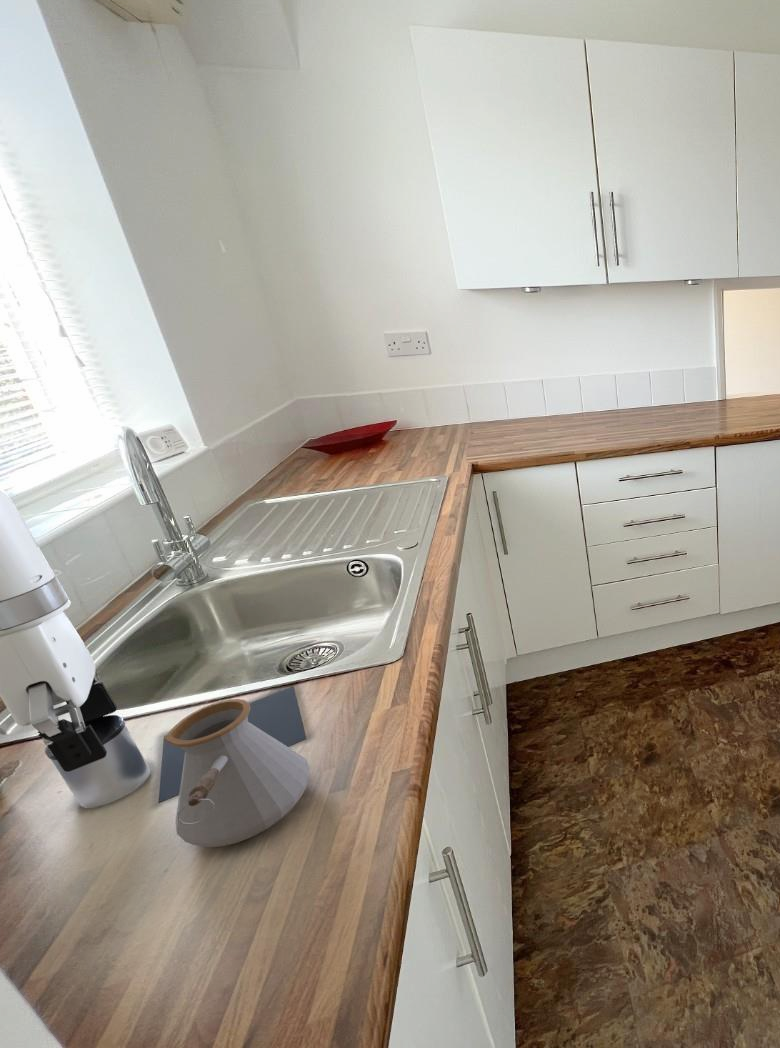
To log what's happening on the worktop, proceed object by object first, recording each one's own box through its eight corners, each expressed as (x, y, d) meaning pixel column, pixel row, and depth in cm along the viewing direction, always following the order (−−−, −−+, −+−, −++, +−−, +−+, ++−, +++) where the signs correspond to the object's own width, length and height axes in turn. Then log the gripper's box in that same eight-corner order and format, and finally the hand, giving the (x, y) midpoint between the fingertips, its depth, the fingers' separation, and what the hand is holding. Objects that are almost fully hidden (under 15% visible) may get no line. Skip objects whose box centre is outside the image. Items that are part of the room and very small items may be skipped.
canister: (75, 821, 64) (39, 765, 61) (83, 787, 68) (50, 733, 65) (151, 789, 67) (120, 735, 64) (154, 758, 72) (125, 707, 69)
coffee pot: (190, 808, 64) (132, 699, 59) (313, 756, 71) (270, 653, 65) (172, 975, 48) (89, 848, 43) (332, 888, 55) (278, 767, 49)
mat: (159, 805, 65) (158, 803, 65) (165, 738, 75) (163, 735, 75) (307, 741, 73) (306, 738, 73) (294, 688, 83) (293, 685, 83)
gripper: (-21, 591, 63) (60, 716, 69) (-77, 661, 50) (28, 806, 57) (77, 566, 67) (144, 686, 73) (48, 625, 54) (132, 763, 61)
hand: (93, 738), depth 65 cm, fingers open, 9 cm apart
